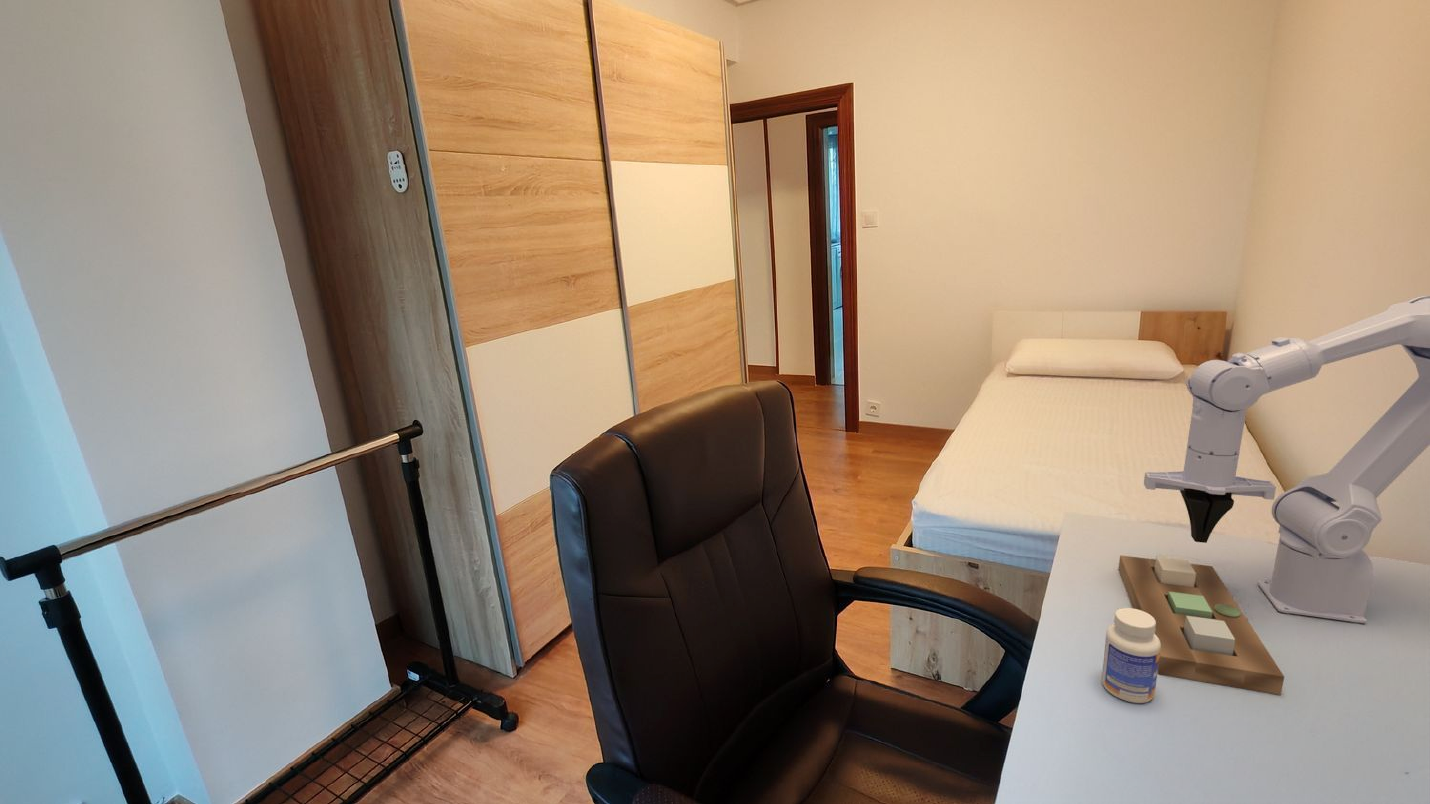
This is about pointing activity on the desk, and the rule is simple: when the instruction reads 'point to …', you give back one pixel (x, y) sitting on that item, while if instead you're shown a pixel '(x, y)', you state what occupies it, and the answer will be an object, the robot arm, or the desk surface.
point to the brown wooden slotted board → (1176, 658)
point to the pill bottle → (1131, 656)
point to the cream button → (1174, 571)
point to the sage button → (1189, 605)
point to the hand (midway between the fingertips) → (1198, 539)
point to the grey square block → (1208, 635)
